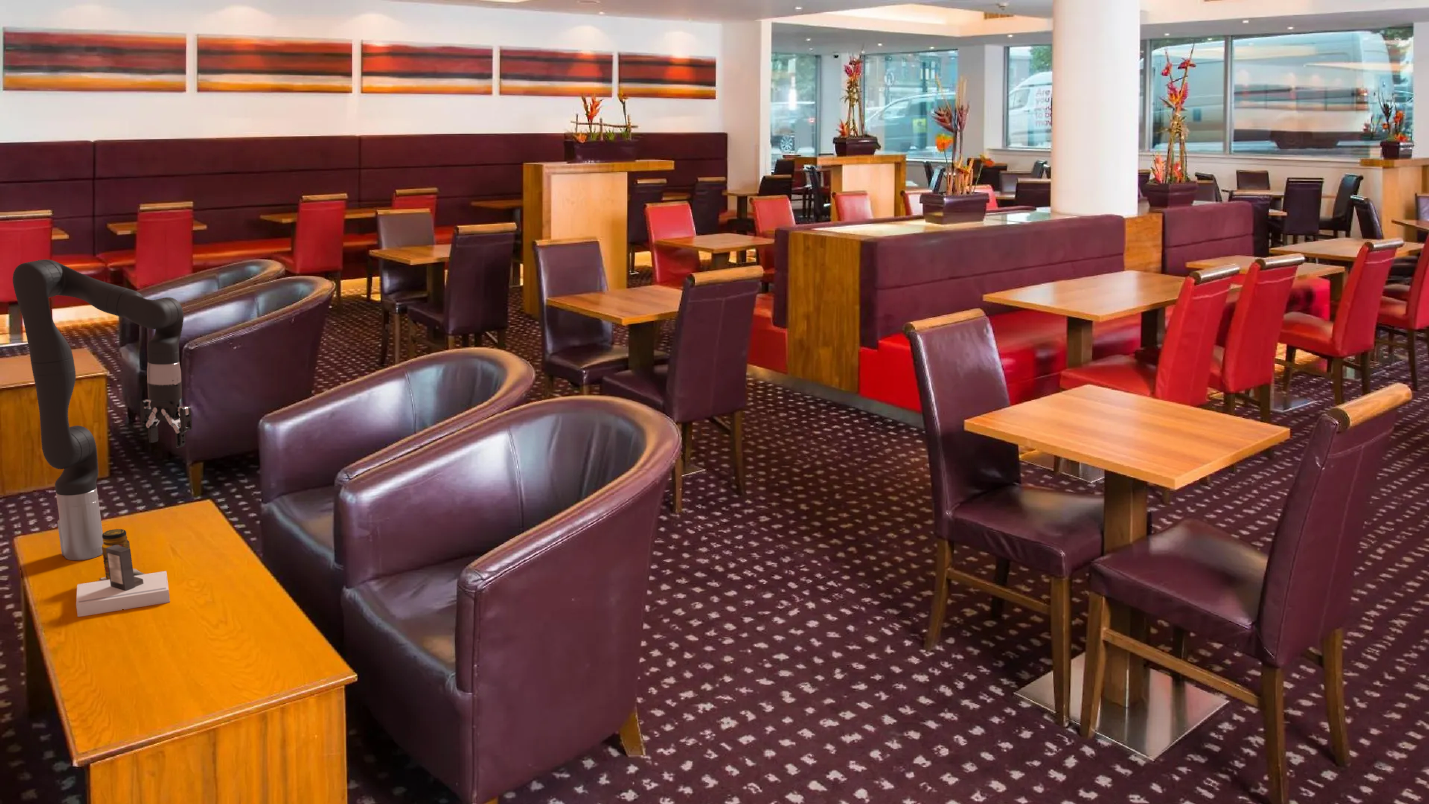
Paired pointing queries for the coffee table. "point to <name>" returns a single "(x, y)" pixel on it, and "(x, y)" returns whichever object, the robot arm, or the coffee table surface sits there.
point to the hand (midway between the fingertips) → (167, 444)
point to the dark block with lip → (121, 568)
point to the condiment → (112, 539)
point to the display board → (121, 595)
